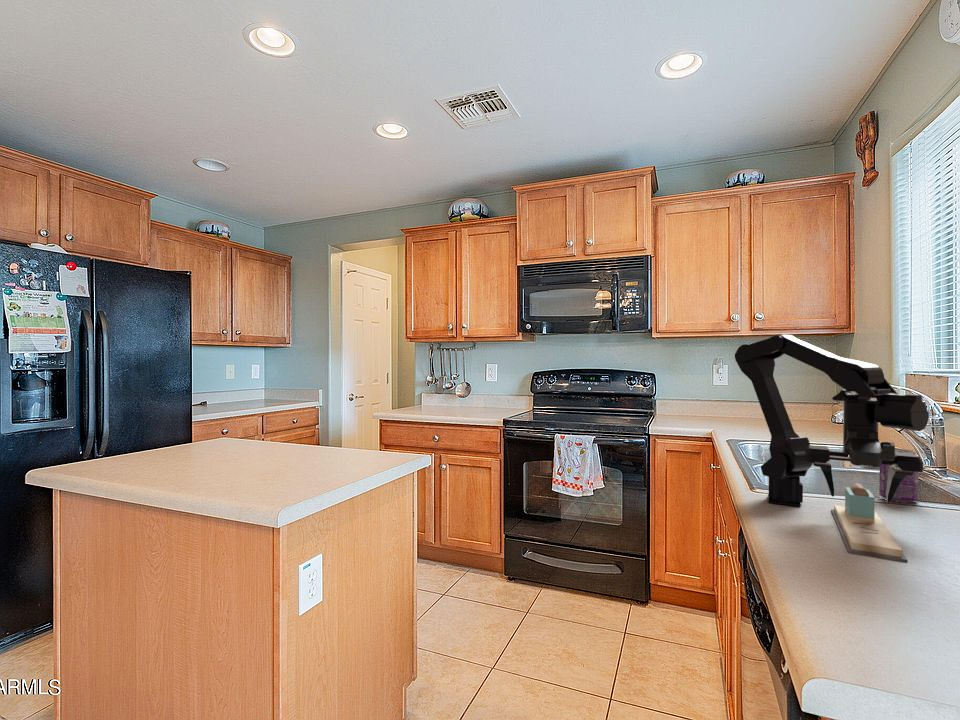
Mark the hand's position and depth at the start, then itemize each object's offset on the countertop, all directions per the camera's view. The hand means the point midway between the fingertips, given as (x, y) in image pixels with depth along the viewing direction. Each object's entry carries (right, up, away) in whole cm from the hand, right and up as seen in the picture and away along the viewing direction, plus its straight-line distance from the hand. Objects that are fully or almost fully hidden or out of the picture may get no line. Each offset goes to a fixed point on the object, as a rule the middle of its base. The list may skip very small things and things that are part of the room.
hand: (859, 499), depth 102 cm
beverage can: (+23, -5, +17) cm, 29 cm away
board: (-3, -5, -5) cm, 8 cm away
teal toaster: (0, -4, 0) cm, 4 cm away
